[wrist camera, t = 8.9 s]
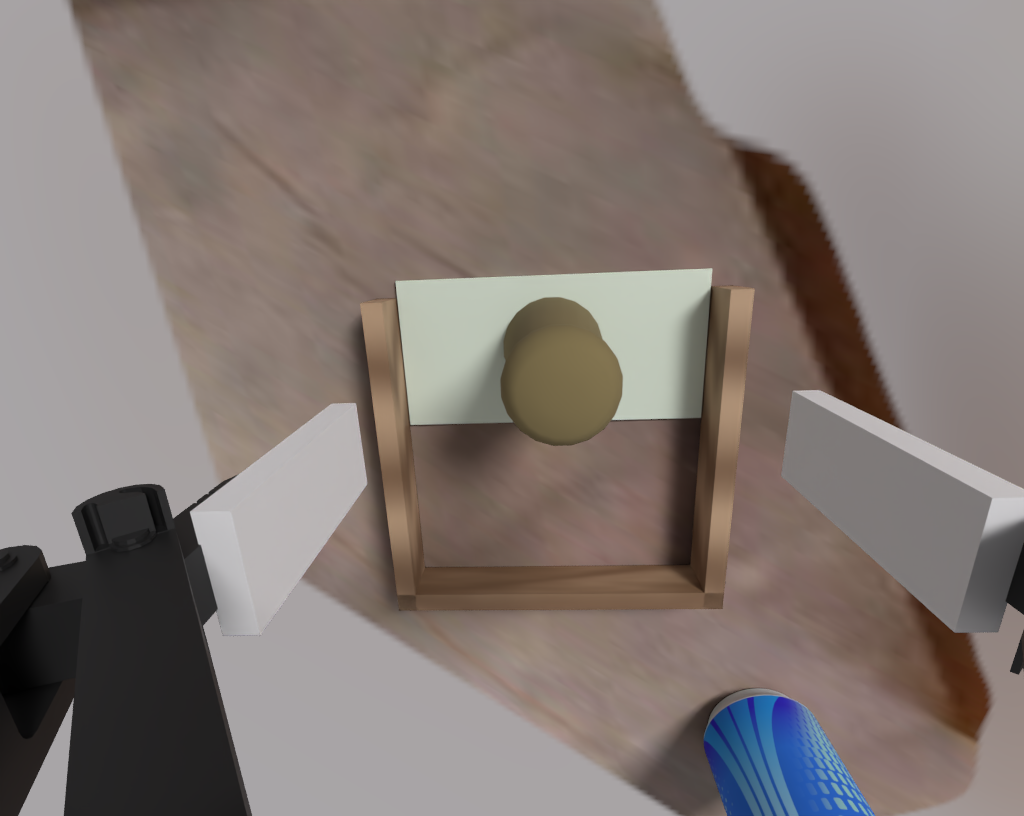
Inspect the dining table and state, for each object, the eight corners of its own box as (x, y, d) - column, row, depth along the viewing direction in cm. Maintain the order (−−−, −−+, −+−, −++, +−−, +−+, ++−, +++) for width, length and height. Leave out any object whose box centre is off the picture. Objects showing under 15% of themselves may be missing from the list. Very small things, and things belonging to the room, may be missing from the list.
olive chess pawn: (497, 388, 31) (479, 456, 20) (509, 290, 29) (496, 309, 19) (593, 401, 31) (624, 476, 20) (611, 303, 29) (655, 330, 19)
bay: (376, 299, 30) (360, 303, 27) (732, 285, 29) (754, 288, 26) (409, 581, 36) (399, 610, 33) (706, 579, 35) (722, 608, 32)
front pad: (396, 280, 29) (395, 281, 29) (711, 268, 28) (712, 268, 28) (411, 423, 32) (410, 425, 32) (699, 416, 31) (700, 417, 31)
